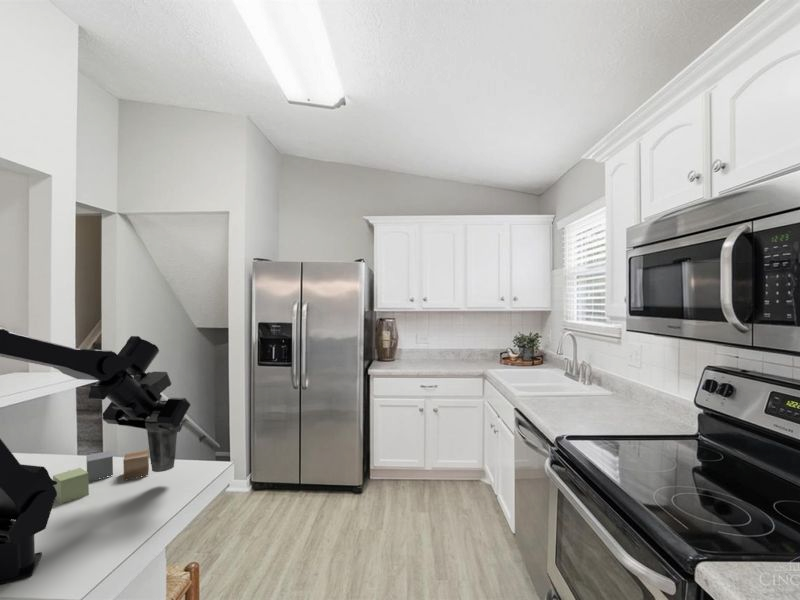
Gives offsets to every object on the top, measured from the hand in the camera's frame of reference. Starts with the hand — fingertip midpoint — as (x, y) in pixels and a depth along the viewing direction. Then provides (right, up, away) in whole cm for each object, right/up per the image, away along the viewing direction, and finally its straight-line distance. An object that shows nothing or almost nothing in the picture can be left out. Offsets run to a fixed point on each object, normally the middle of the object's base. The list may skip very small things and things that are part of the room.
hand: (167, 429), depth 98 cm
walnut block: (-11, -13, +5) cm, 18 cm away
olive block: (-18, -13, -6) cm, 23 cm away
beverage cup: (0, -9, -1) cm, 9 cm away
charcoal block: (-20, -13, +5) cm, 24 cm away
